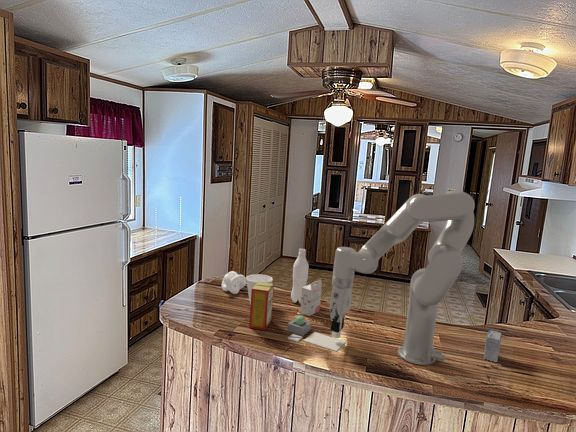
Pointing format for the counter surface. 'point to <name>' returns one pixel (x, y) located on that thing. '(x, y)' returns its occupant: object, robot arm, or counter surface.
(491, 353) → the medicine box
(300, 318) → the button
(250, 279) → the cup
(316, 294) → the ink cartridge box
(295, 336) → the card
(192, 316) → the counter surface
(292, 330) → the button housing
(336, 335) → the marker
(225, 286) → the white lumpy rounded part
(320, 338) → the paper
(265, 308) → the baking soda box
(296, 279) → the water bottle
